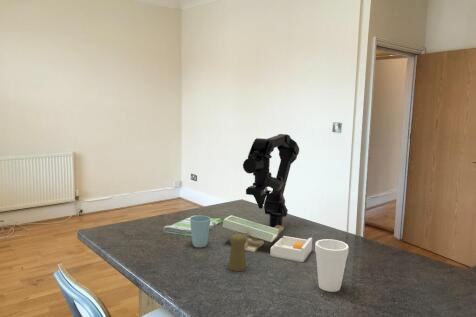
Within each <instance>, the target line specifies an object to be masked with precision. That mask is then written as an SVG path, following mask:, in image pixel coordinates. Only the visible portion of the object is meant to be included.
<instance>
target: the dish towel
mask: <svg viewBox="0 0 476 317" xmlns="http://www.w3.org/2000/svg"><path fill="white" fill-rule="evenodd" d="M193 216H200V215H197V214H196V215H194V214H193V215H192V216H190V217H187V218H185V219H182V220H180V221H178V222H175V223H173V224H170V225H165V226H164V227H163V229H162V230H163V232H164V233H171V234H174V235H181V236H186V237H191V238H192V233H191V223H190V218H191V217H193ZM210 218H211V220H210V227H209V231H211V230H212V229H214V228H216V227H218V226H220V225H223V219H222V218H219V217H217V218H215V217H214V218H212V217H210Z"/></svg>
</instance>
